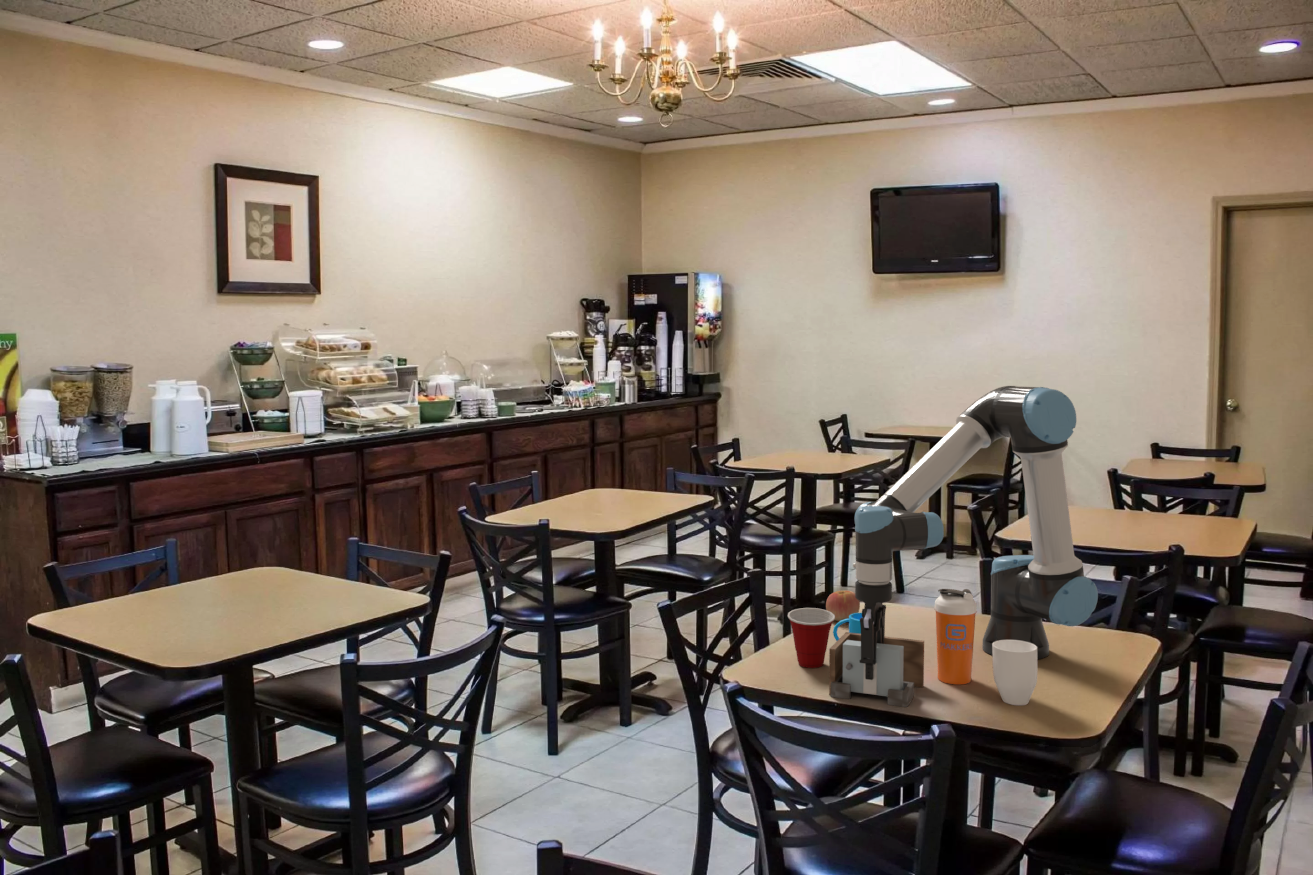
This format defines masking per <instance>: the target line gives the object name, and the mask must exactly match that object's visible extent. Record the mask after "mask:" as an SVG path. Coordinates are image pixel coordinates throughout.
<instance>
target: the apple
mask: <svg viewBox="0 0 1313 875" xmlns="http://www.w3.org/2000/svg"><path fill="white" fill-rule="evenodd" d="M860 602H861V601H859V600H857V599H856V597H855V591H852V590H837V591H834V592H832V593H831V594H829V596H828V597H827V599H826V602H825V610H827V611H829V612H832V613H833V614H834V615H835V619H834V621H836V622H840V621H841V620H844V619H849V616H850V615H851V614H854V613H860V607H861V603H860Z"/></svg>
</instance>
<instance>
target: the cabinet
mask: <svg viewBox="0 0 1313 875" xmlns="http://www.w3.org/2000/svg"><path fill="white" fill-rule="evenodd" d="M846 640H853V641H861V634H858V633H849V631H848V632H847V631H845V632H844V633H843V634H842V635H841V636H840V637H839V640H838V641H836V642H835V643H834V644H833V645H831V647H830V648H829V649H828V650H829V655H828V656H829V658H828V660H829V671H828V673H829V676H828V680H829V684H828V687H829V688H828V690H829V692H828V695H829V696H830V697H831V698H838V699H843V700H844V699H845V700H850V699H851V698H852V697H851V696H852V695H851V684H848V683H843V644H844V643H845V641H846ZM884 644H889V645H898V646H904V656H903V691H902V690H894V689H888V696H887V705H890V706H896V707H904V708H908V706H909V705H910V704H911V702H912V700H913V699H914V696H915V687H916V688H923V687H924V685H925V684H924V683H925V682H924V679H925V676H924V675H925V674H924V673H925V640H923V639H921V640H920V639H909V638H902V637H894V636H886V635H885V637H884Z"/></svg>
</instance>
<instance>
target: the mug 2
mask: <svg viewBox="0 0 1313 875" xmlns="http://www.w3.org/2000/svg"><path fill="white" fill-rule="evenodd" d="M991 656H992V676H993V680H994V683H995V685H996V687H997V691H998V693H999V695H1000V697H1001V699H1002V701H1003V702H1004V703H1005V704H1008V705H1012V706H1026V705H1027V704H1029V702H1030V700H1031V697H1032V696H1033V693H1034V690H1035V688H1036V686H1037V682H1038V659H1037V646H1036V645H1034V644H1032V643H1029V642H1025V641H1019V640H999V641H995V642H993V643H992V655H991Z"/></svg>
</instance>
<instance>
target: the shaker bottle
mask: <svg viewBox="0 0 1313 875" xmlns="http://www.w3.org/2000/svg"><path fill="white" fill-rule="evenodd" d="M937 591H938V593H939V596H938V597H937V598H936V599H935V601H934V611H935V631H936V635H935V636H936V660H937V663H936V664H937V679H938V680H939V681H940V682H942V683H945V684H949V685H966V684H969V683H970V682H971V681H972V673H973V672H972V671H973V668H972V667H973V656H974V654H973V653H974V640H975V627H976V626H975V625H976V615H977V612H978V611H977V606H978V604H977V602H976V600H975V599H974V596H973V593H972V591H971V590H970V589H968V588H964V589H963V590H959V589H952V588H939V589H937Z"/></svg>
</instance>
